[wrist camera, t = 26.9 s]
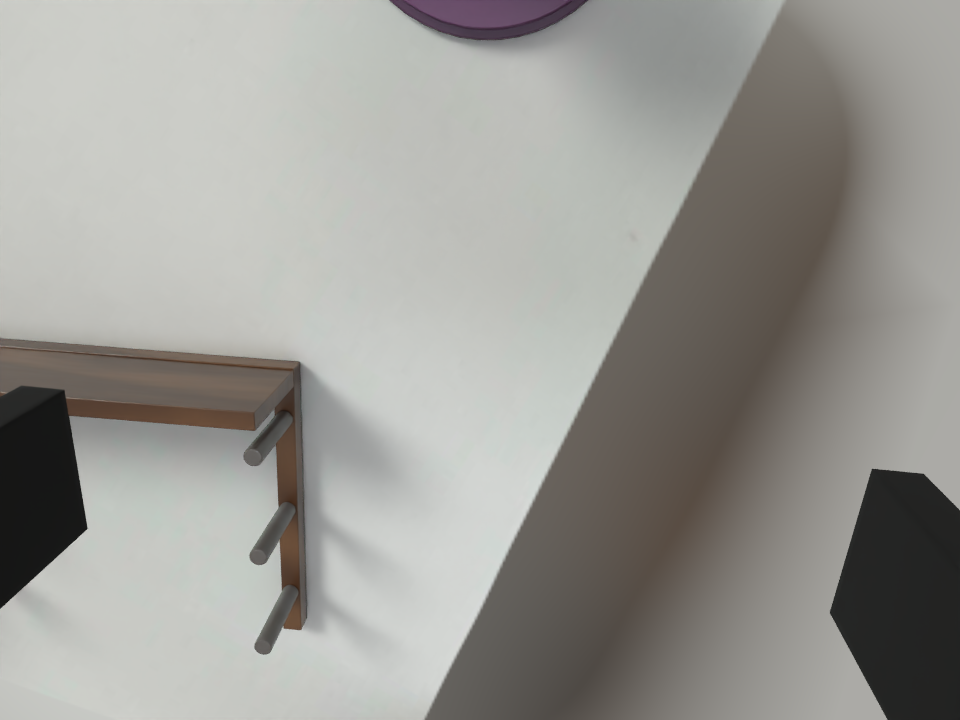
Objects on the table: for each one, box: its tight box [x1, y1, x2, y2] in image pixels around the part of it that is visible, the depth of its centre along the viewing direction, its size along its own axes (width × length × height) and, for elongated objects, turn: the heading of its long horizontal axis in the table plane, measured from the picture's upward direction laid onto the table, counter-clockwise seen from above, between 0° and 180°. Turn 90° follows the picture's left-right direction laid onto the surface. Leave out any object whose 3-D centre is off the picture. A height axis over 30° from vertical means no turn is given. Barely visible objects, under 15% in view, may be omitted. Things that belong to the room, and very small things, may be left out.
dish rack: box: [0, 339, 307, 654], centre depth 40 cm, size 18×23×7 cm
